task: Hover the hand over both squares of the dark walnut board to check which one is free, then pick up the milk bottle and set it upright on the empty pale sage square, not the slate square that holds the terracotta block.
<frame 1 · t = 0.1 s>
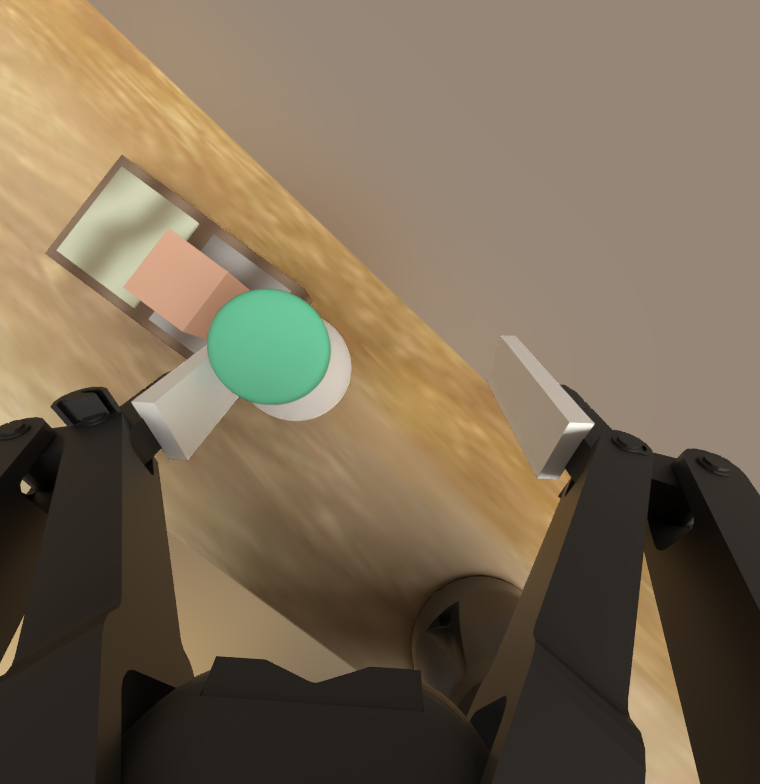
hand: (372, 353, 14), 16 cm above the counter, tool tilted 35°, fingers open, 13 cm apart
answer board: (195, 283, 31), on the counter
milk bottle: (310, 376, 30), on the counter, touching gripper
terracotta block: (220, 305, 27), point 3 cm above the counter, touching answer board
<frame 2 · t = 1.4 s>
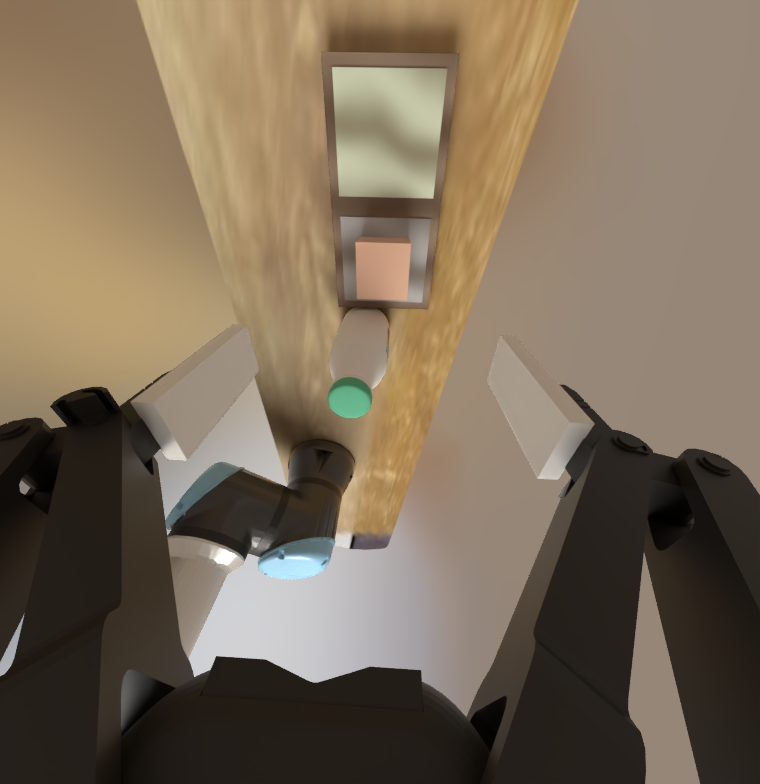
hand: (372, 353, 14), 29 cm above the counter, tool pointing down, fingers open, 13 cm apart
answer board: (386, 207, 34), on the counter
milk bottle: (366, 326, 44), on the counter
terracotta block: (384, 263, 35), point 3 cm above the counter, touching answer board
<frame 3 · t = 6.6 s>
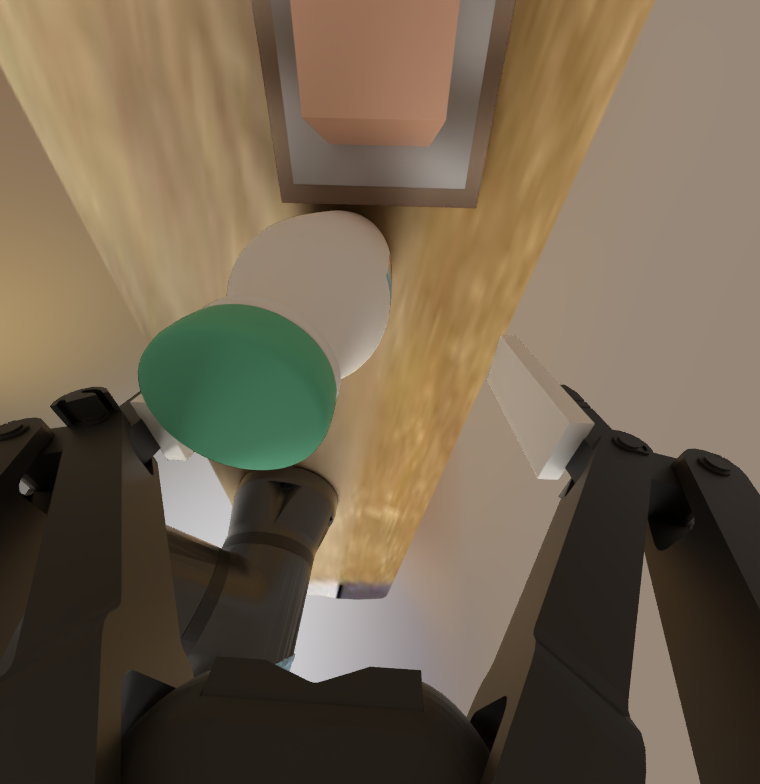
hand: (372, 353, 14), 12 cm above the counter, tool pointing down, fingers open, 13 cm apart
milk bottle: (346, 264, 23), on the counter, touching gripper
terracotta block: (380, 69, 14), point 3 cm above the counter, touching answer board
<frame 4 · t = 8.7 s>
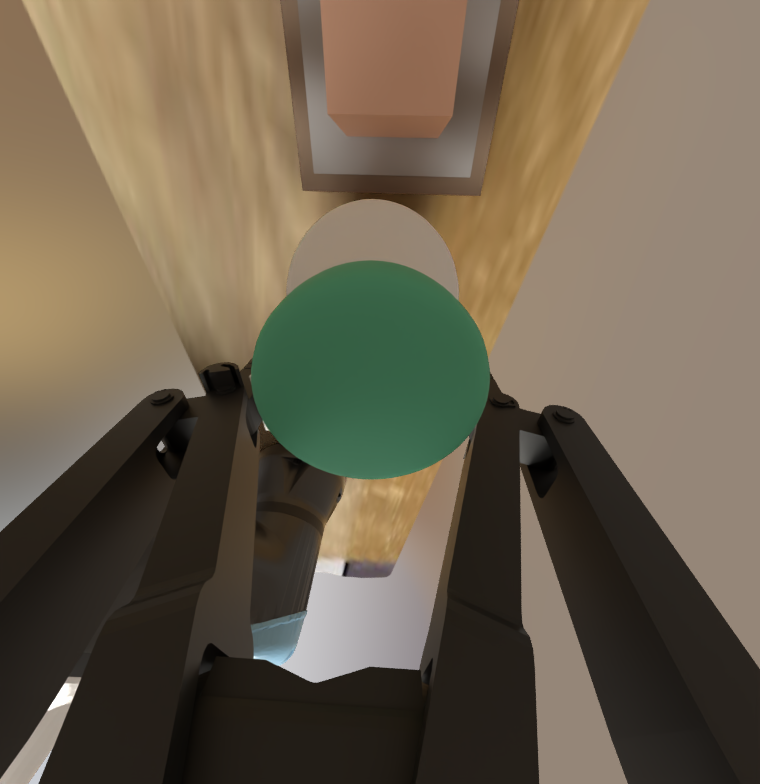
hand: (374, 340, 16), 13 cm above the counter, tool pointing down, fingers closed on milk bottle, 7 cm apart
milk bottle: (373, 267, 22), point 3 cm above the counter, touching gripper
terracotta block: (394, 68, 16), point 3 cm above the counter, touching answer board
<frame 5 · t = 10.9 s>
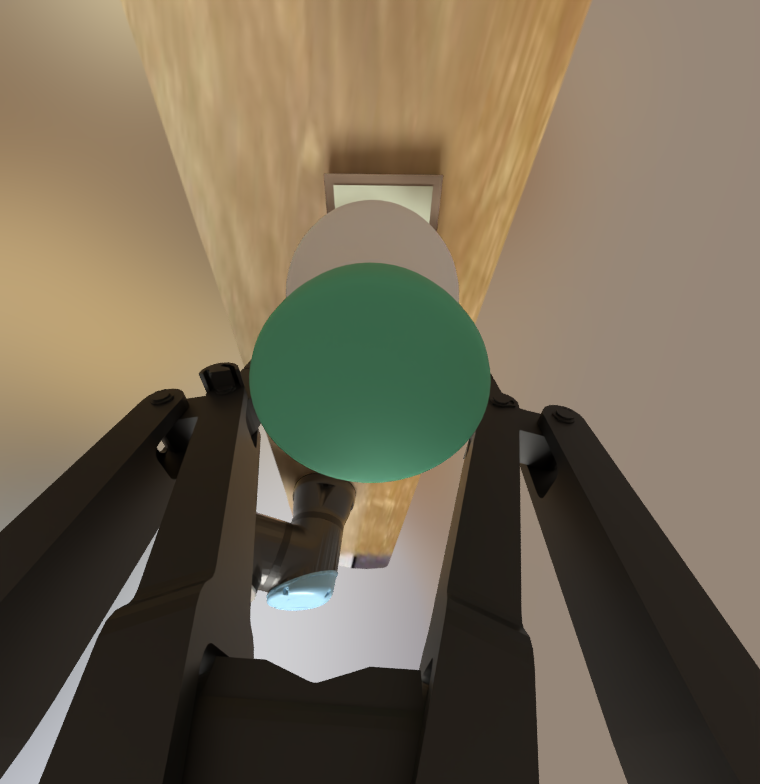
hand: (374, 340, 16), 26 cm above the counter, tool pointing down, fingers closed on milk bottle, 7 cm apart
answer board: (382, 283, 38), on the counter
milk bottle: (373, 268, 22), point 16 cm above the counter, touching gripper
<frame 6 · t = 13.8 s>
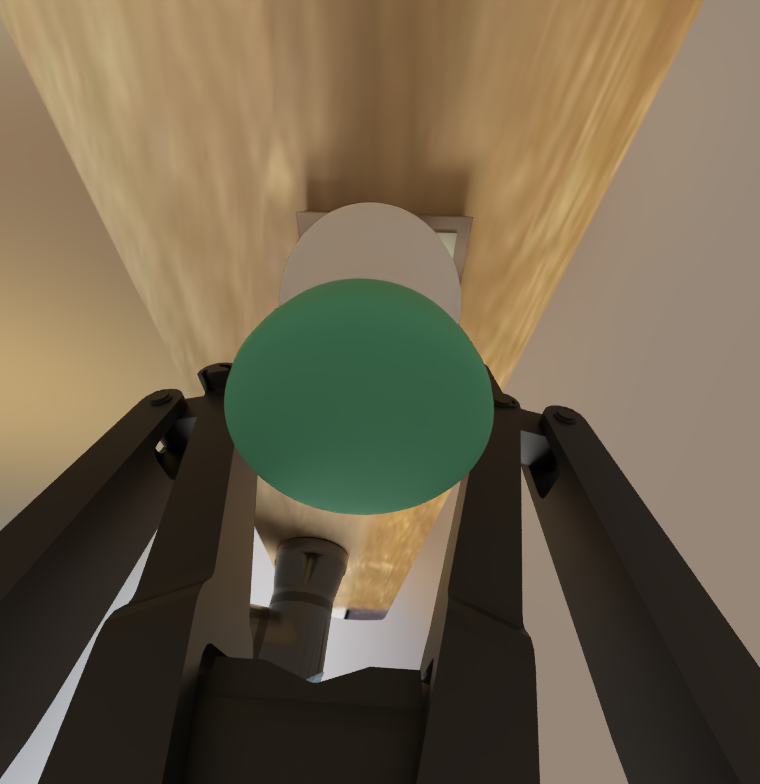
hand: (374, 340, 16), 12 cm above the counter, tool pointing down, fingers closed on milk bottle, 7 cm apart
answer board: (381, 346, 29), on the counter
milk bottle: (374, 270, 22), point 3 cm above the counter, touching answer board, gripper
when the fingers open (12 cm above the counter, at t = 14.6 s): milk bottle stays where it is, resting on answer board.
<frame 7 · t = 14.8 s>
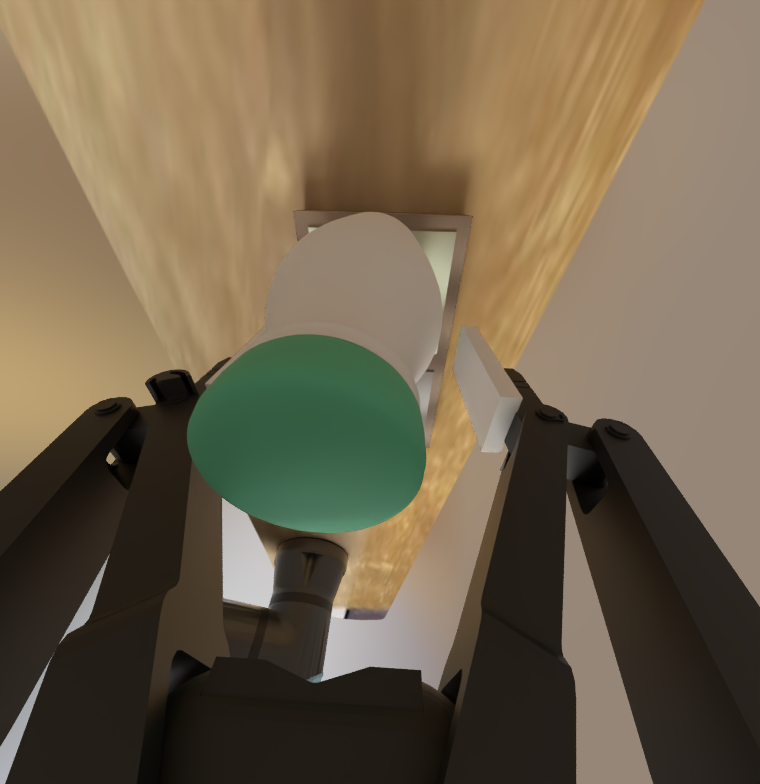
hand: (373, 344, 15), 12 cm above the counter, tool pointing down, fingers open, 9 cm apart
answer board: (380, 346, 29), on the counter
milk bottle: (373, 268, 22), point 3 cm above the counter, touching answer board
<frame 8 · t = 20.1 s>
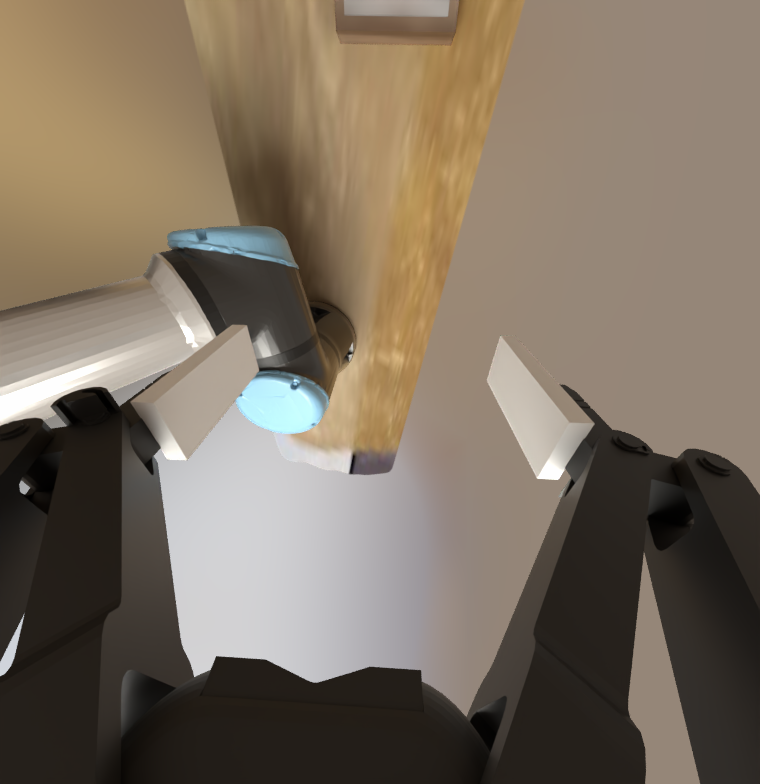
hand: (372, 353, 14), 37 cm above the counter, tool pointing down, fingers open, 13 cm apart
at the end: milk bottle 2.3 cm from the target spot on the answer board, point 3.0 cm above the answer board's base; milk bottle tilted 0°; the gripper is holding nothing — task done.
